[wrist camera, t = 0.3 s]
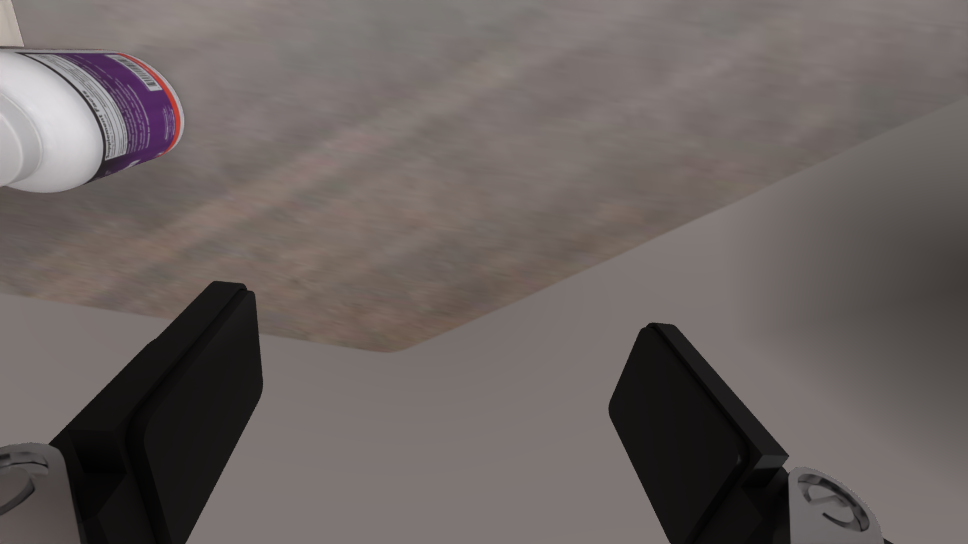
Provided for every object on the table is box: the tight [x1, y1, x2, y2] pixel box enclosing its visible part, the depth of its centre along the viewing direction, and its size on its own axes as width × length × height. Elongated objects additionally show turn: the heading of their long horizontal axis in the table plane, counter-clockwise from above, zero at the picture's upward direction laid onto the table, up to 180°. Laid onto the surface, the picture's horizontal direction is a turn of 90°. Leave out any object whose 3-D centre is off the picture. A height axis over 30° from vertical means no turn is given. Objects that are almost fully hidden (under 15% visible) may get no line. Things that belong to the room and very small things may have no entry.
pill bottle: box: [0, 49, 184, 193], centre depth 27 cm, size 8×8×14 cm
